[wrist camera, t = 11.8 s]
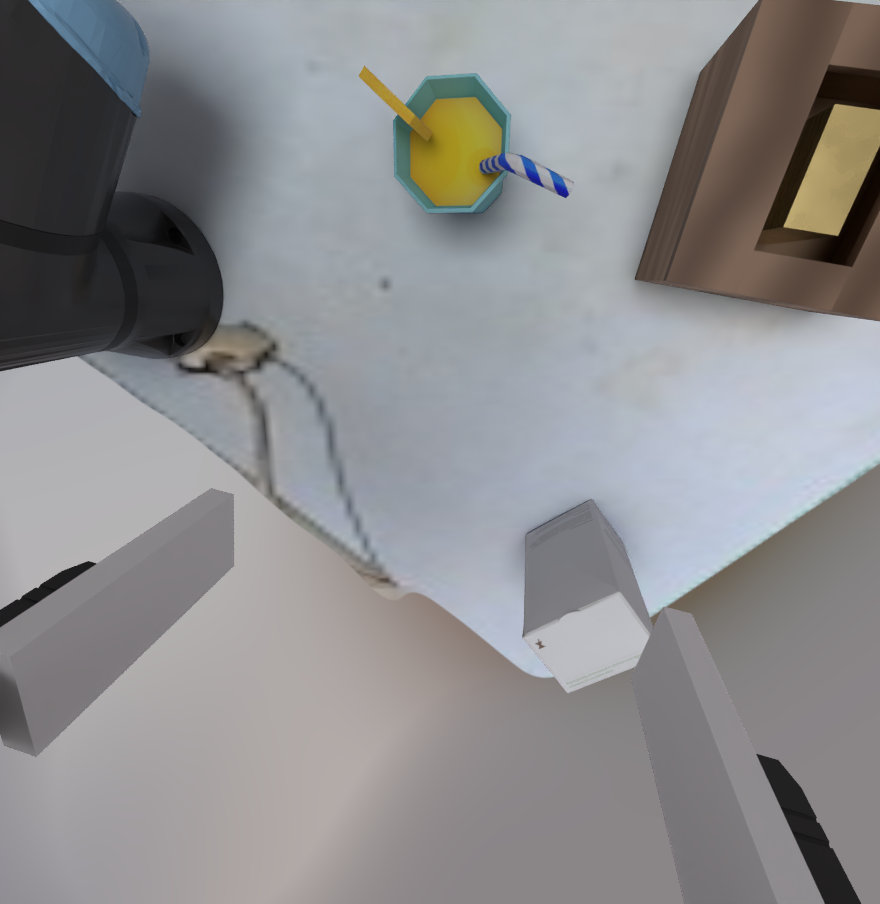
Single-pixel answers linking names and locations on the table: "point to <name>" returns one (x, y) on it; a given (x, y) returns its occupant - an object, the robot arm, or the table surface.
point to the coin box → (771, 163)
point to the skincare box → (582, 599)
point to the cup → (456, 145)
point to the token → (823, 175)
